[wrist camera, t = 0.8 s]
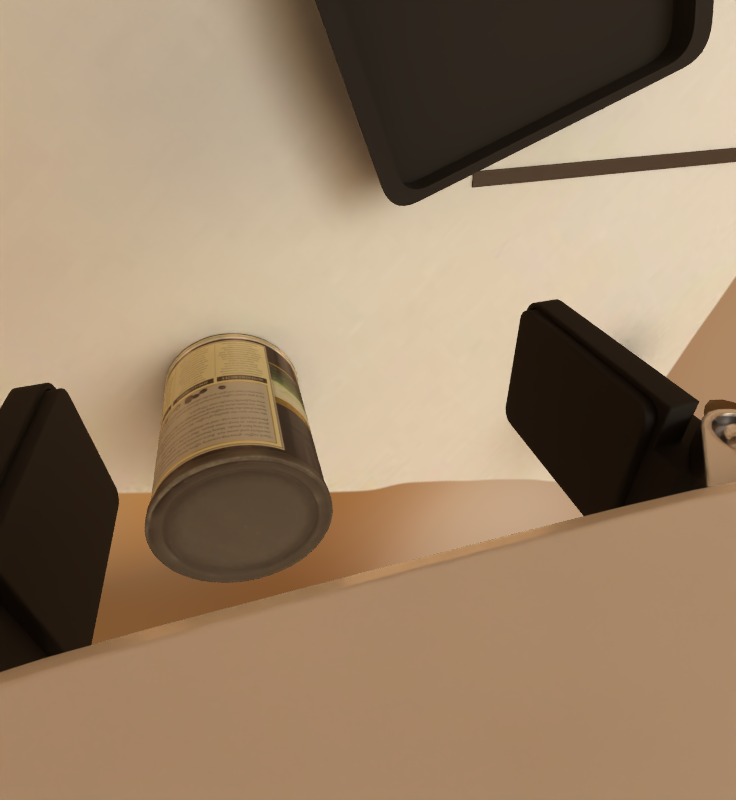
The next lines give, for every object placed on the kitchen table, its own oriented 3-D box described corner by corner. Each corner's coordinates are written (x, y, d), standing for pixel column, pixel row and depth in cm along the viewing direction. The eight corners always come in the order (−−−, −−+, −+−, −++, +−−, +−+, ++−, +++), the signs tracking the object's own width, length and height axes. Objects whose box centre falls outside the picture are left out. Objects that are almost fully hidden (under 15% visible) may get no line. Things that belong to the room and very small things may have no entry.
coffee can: (322, 363, 39) (366, 487, 28) (261, 454, 43) (280, 594, 32) (198, 308, 34) (193, 433, 23) (142, 416, 38) (114, 568, 27)
